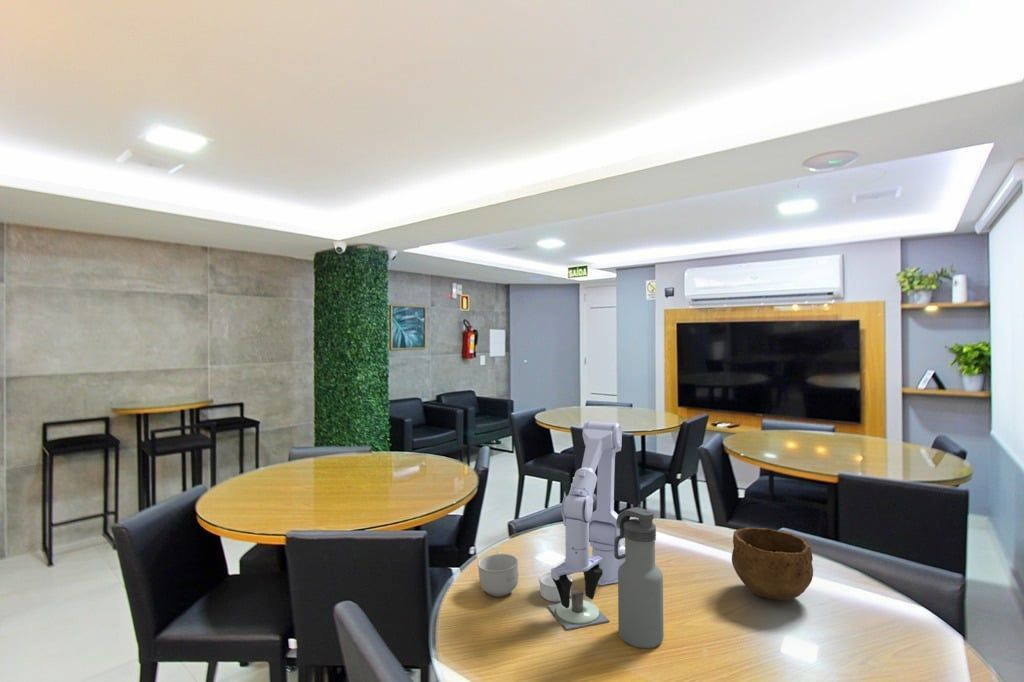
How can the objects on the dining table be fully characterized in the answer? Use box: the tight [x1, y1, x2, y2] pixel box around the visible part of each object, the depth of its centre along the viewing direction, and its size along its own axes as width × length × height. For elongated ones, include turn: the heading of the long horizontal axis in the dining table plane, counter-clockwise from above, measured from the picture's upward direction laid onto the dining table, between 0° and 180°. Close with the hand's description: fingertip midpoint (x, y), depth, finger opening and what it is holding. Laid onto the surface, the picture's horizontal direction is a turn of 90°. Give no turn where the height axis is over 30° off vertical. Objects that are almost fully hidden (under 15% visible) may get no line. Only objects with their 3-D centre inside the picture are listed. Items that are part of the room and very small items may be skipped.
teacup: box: [477, 550, 519, 597], centre depth 133 cm, size 14×11×8 cm
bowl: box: [731, 527, 814, 601], centre depth 129 cm, size 19×19×15 cm
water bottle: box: [614, 507, 665, 649], centre depth 111 cm, size 10×10×28 cm
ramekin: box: [538, 571, 573, 603], centre depth 130 cm, size 9×9×4 cm
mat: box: [547, 597, 610, 631], centre depth 120 cm, size 11×11×1 cm
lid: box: [556, 590, 600, 624], centre depth 120 cm, size 10×10×5 cm
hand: (577, 601), depth 120 cm, fingers open, 7 cm apart
